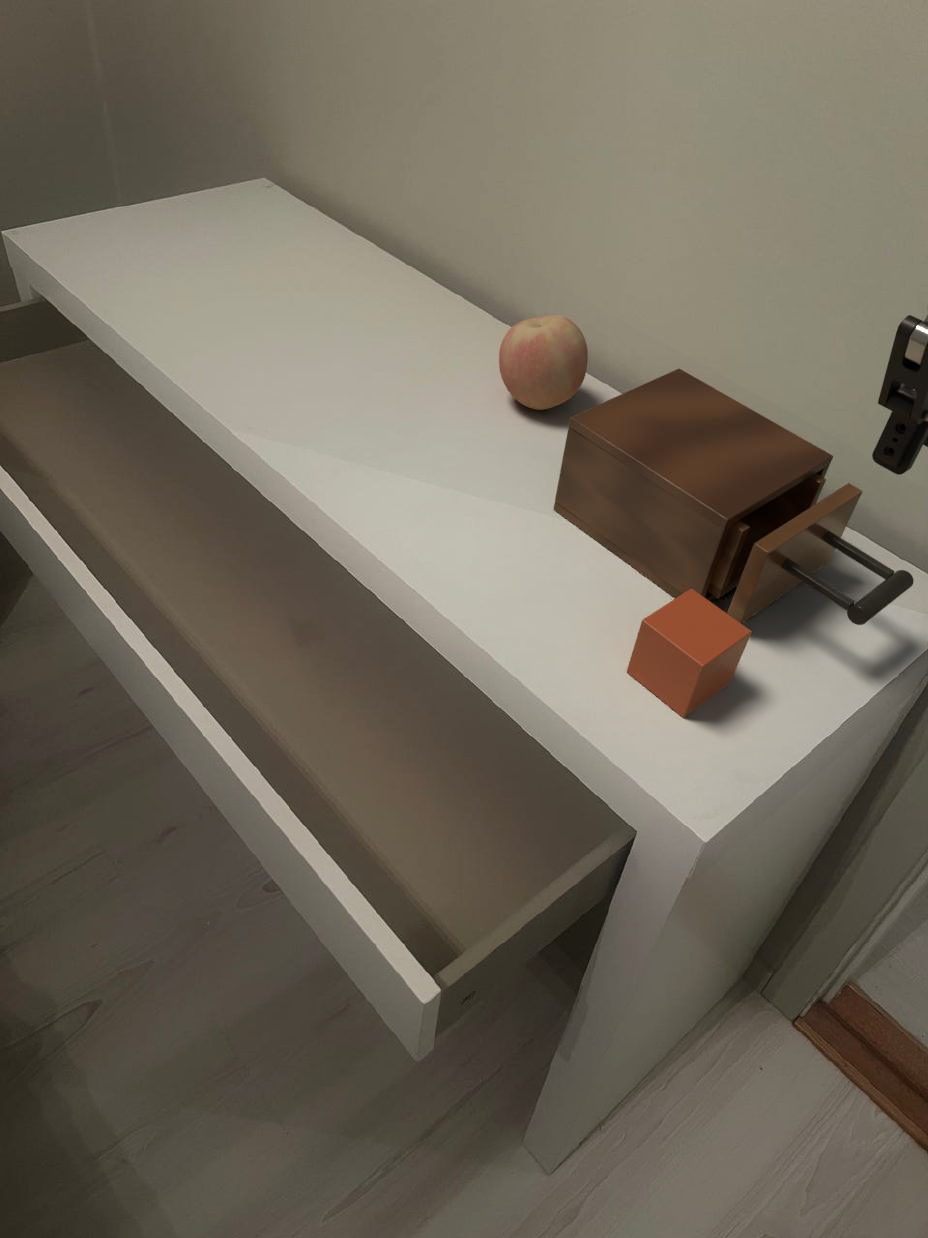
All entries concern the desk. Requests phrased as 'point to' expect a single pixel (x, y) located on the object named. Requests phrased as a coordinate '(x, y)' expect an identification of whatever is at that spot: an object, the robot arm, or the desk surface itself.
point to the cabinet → (675, 475)
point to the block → (687, 651)
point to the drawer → (798, 553)
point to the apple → (543, 361)
